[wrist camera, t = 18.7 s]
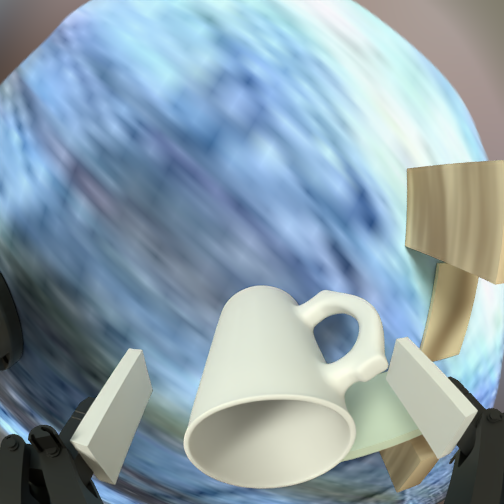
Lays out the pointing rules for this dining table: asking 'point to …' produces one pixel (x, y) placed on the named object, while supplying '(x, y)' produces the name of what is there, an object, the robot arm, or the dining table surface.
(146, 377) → the robot arm
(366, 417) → the gate door
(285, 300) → the mug
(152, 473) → the dining table surface
